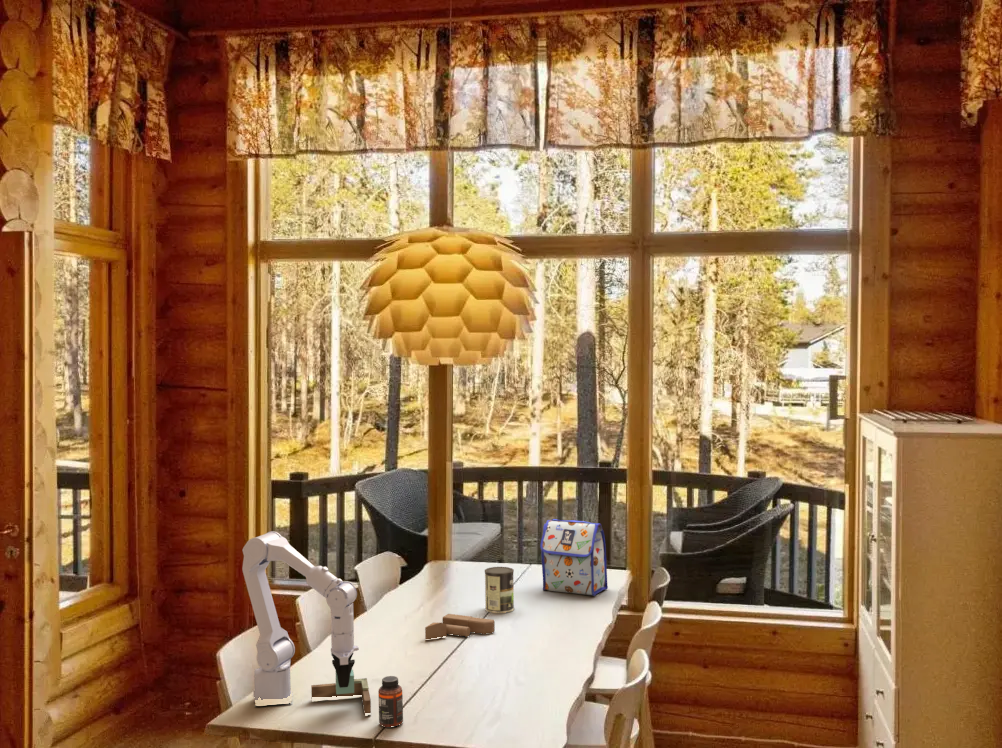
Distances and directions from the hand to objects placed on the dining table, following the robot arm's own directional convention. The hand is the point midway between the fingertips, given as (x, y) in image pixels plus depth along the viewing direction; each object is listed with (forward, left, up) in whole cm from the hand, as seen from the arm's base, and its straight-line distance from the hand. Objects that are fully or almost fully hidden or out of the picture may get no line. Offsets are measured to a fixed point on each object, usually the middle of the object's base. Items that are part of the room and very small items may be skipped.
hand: (343, 683), depth 233 cm
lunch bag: (+91, +94, -7) cm, 131 cm away
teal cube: (0, 0, -2) cm, 2 cm away
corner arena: (-1, +1, -6) cm, 7 cm away
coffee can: (+58, +77, -7) cm, 96 cm away
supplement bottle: (+11, -12, -7) cm, 18 cm away
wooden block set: (+39, +51, -7) cm, 65 cm away
